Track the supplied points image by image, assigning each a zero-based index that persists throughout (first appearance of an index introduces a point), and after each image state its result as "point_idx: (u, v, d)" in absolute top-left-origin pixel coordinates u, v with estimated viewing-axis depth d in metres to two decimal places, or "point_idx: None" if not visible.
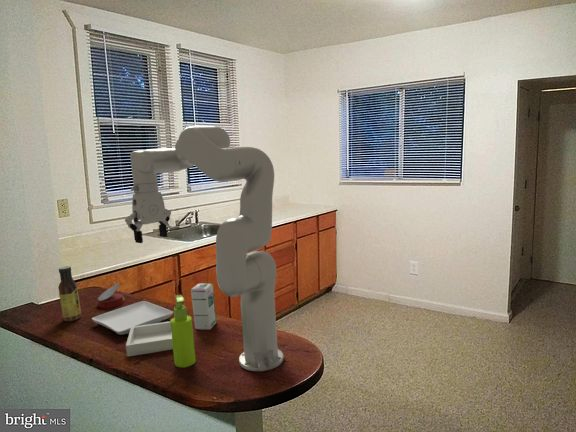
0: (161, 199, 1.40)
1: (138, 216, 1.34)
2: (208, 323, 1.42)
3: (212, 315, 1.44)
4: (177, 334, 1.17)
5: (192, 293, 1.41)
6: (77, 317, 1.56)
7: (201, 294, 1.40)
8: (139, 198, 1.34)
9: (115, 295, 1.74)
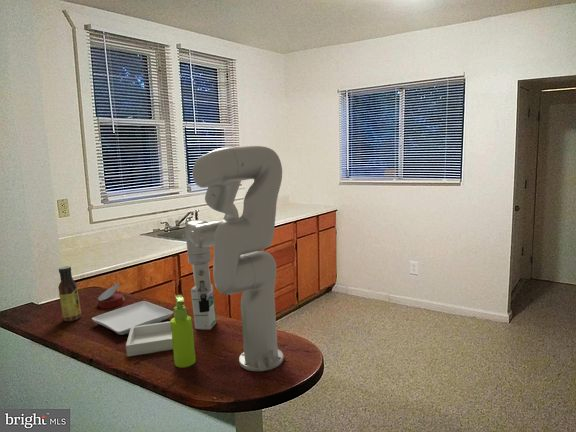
0: None
1: (207, 285, 1.38)
2: (208, 322, 1.42)
3: (212, 315, 1.44)
4: (177, 334, 1.17)
5: (192, 293, 1.41)
6: (77, 317, 1.56)
7: None
8: (206, 267, 1.38)
9: (115, 295, 1.74)
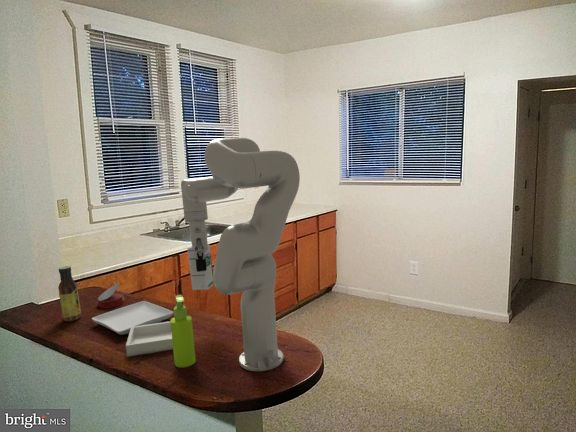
0: None
1: (203, 242, 1.35)
2: (205, 283, 1.39)
3: (210, 275, 1.41)
4: (177, 334, 1.17)
5: (189, 252, 1.38)
6: (77, 317, 1.56)
7: None
8: (203, 224, 1.35)
9: (115, 295, 1.74)
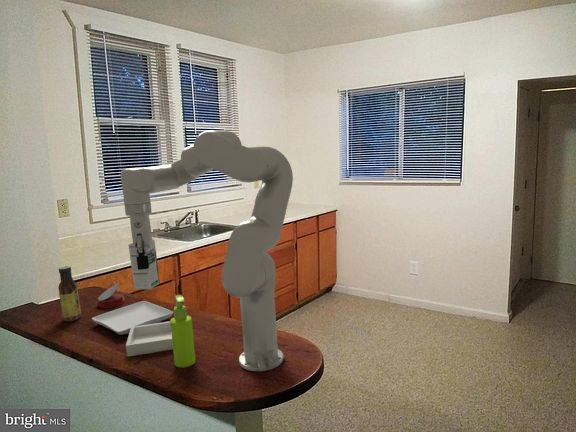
0: None
1: (145, 238, 1.24)
2: (148, 282, 1.28)
3: (154, 274, 1.30)
4: (177, 334, 1.17)
5: (130, 249, 1.27)
6: (77, 317, 1.56)
7: None
8: (144, 218, 1.24)
9: (115, 295, 1.74)
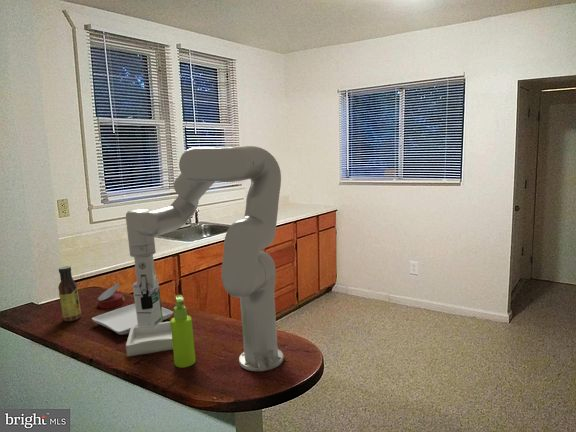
0: None
1: (149, 279, 1.26)
2: (151, 321, 1.30)
3: (157, 312, 1.32)
4: (177, 334, 1.17)
5: (134, 288, 1.29)
6: (77, 317, 1.56)
7: None
8: (149, 259, 1.26)
9: (115, 295, 1.74)
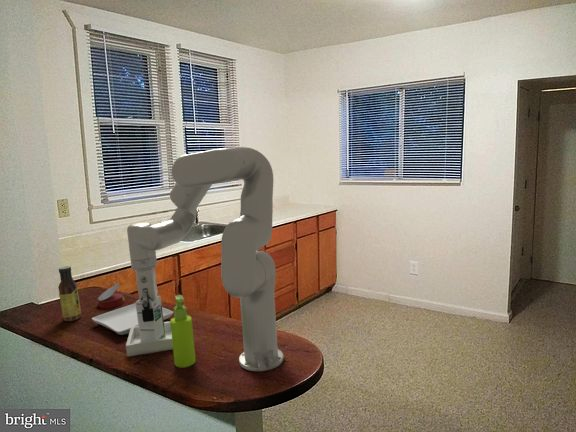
0: None
1: (150, 293, 1.27)
2: (154, 338, 1.31)
3: (160, 329, 1.33)
4: (177, 334, 1.17)
5: (137, 306, 1.30)
6: (77, 317, 1.56)
7: None
8: (150, 273, 1.27)
9: (115, 295, 1.74)
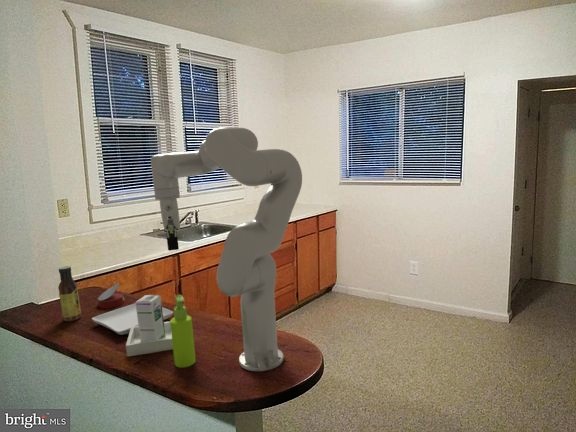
0: None
1: (175, 221, 1.29)
2: (154, 338, 1.31)
3: (160, 329, 1.33)
4: (177, 334, 1.17)
5: (137, 306, 1.30)
6: (77, 317, 1.56)
7: (146, 307, 1.29)
8: (175, 202, 1.29)
9: (115, 295, 1.74)
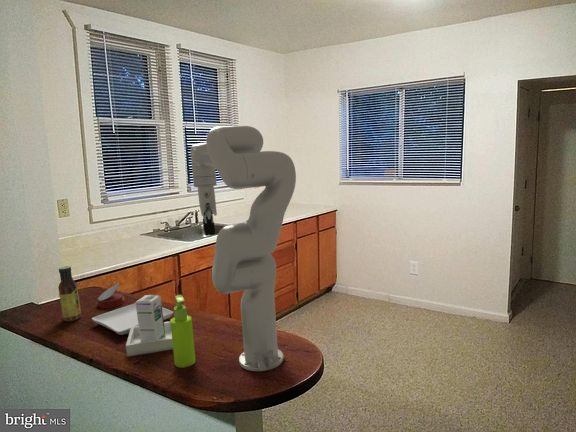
0: None
1: (212, 208, 1.37)
2: (154, 338, 1.31)
3: (160, 329, 1.33)
4: (177, 334, 1.17)
5: (137, 306, 1.30)
6: (77, 317, 1.56)
7: (146, 307, 1.29)
8: (212, 189, 1.37)
9: (115, 295, 1.74)
